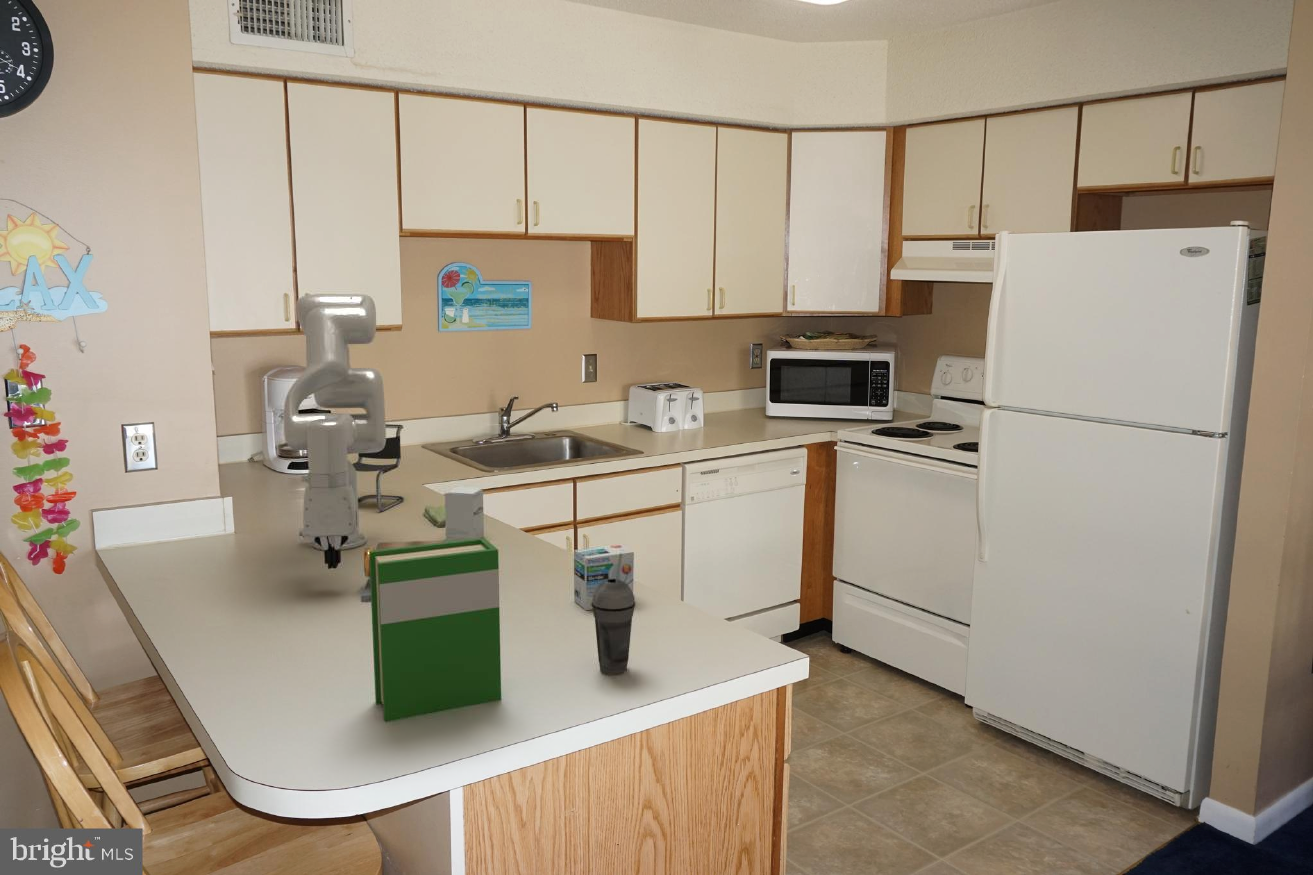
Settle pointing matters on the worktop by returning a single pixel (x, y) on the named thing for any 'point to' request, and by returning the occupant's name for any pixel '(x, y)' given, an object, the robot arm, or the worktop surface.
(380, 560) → the hardback book
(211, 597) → the worktop surface
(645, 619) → the worktop surface
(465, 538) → the supplement box
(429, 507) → the washcloth
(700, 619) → the worktop surface
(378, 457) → the chair
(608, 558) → the light bulb box
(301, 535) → the robot arm
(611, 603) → the beverage cup
